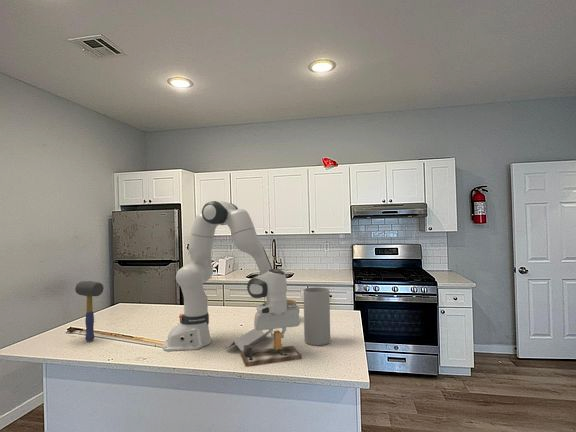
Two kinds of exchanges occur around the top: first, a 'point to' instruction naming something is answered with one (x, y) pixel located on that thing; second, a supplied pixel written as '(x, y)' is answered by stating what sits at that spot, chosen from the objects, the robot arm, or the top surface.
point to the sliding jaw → (277, 342)
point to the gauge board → (268, 355)
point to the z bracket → (248, 339)
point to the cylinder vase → (316, 316)
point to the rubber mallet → (89, 303)
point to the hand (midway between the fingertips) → (277, 338)
